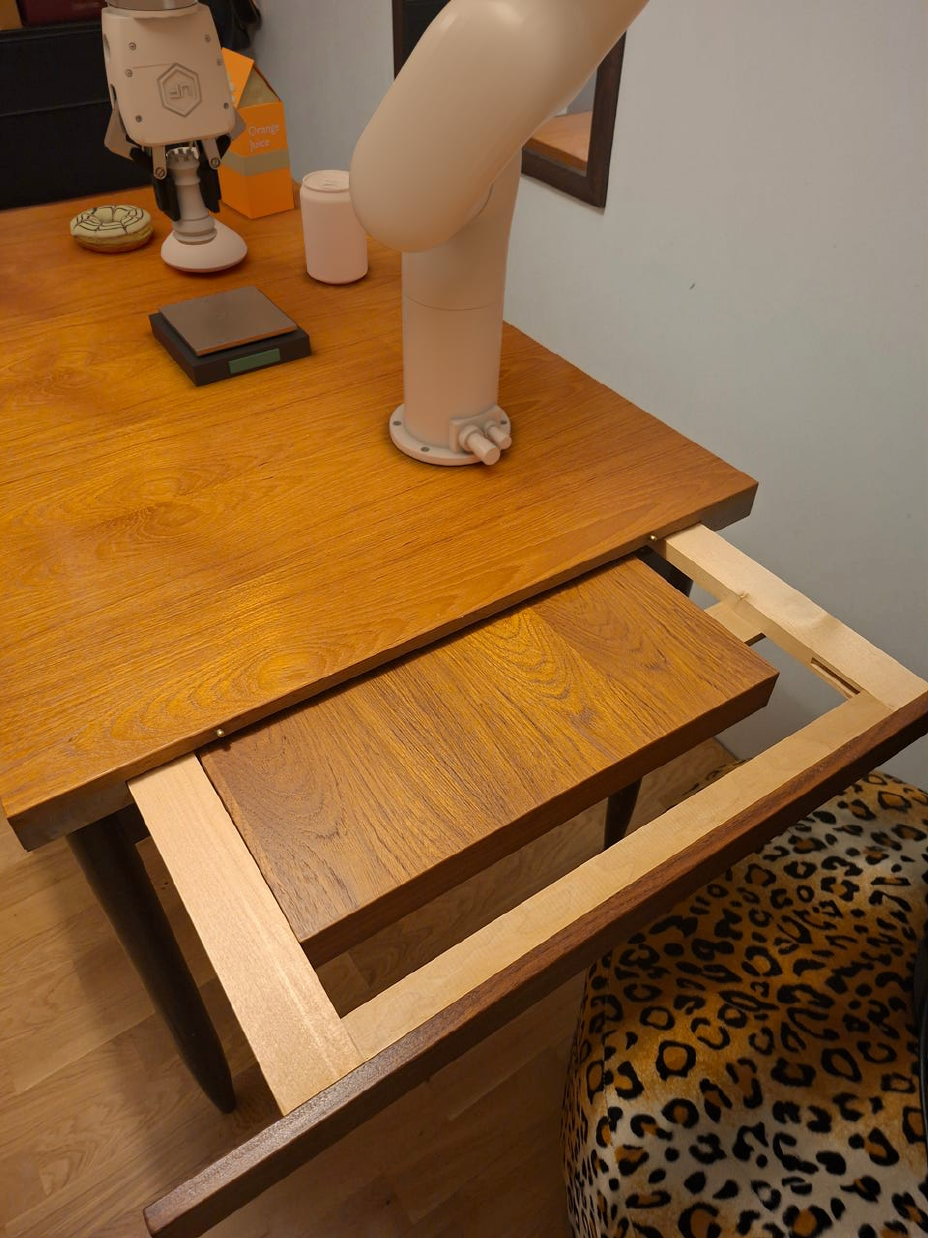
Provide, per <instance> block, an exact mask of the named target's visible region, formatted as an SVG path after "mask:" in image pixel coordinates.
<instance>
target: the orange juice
mask: <svg viewBox="0 0 928 1238" xmlns="http://www.w3.org/2000/svg"><path fill="white" fill-rule="evenodd" d="M221 50H222V54H223V58H224V62H225V67H226V70H227V72H228V74H229V75H230V76H231V79H232V80H231V83H233V84H234V85H235V91H234V92H232V93H233V95H234V97H235V98H236V102H235V103H233V106H234V107H235V109H236V110H237V112H238V113H239V115H240V116H241V117H242V119H243V120H244V122H245V124H246V129H245V131H244V132H243V133H242V134H240V135H239V136H238V137H237V138H236V139H235V140H234V141H232V142H231V144H230V146H229V148H228V150H227V151H226V153H225V155H224V156H223V158H222V159H221V166H220V168H219V169H217V170H218V176H219V182H220V189H221V195H222V199H221V201H222V203H224V204H226V205H227V206H229V207H231V209H234V210H235V211H237V212H238V213H240V214H241V215H243V216H245V217H247V218H249V219H250V220H255V219H258V218H263V217H266V216H270V215H274V214H278V213H282V212H285V211H290V210H293V209H295V202H294V193H293V185H292V184H293V183H292V174H291V173H292V172H291V161H290V150H289V145H288V144H289V143H288V136H287V125H286V117H285V116H286V115H285V107H284V101H282V100H281V98H280V97H279V95H278V94H277V92H276V90H275V89H274V88H273V87H272V85H271V84H270V83H269V81H268V79H267V78H266V77H265V75H264V74H263V73H262V71H261V70H260V68H259V67H258V65H257V64H256V62H255V60H254V59H252V58H250V57H248V56H245V55H242V54H240V53H238V52H236V51H233V50H231V49H228V48H226V47H223V46H222V47H221Z"/></svg>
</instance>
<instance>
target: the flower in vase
mask: <svg viewBox="0 0 928 1238" xmlns="http://www.w3.org/2000/svg"><path fill="white" fill-rule="evenodd" d="M226 71H227V70H226ZM227 76H228V80H229V85H230V90H231V95H232V101H233V103H235V102H236V98H235V97H234V95H233V93H232V92H234V91H235V85H234V84H233V83H231V80H232V79H231V76H230V75H229V74H228V72H227ZM193 143H194V141H189V143H188V144H189V145H188V146H184V147H181V148H183V153H185V154H187V153H186V149H191V150H192V151H194V156H195V157H196V158H197V159H198V157H199V156H198V153H197V150H196V146H195V147H194V146H193ZM177 148H178V147H176V148H173V150H174V151H175V154H178V149H177ZM165 156H166V157H167V153H165ZM206 209H207V208H206ZM214 220H215V226H214V228H215V229H217V235H216V237H215V238H214V240H213V241H211V242H209V243H207V244H202V245H185V244H182V243H180V242H178V241H177V240H176V239H175V238H174V237H173V232H174V231H175V229H173V230H172V232H170V234H168V235H167V236H166V239H165V240H164V241H163V243H162V245H161V248H160V257H161V258H162V260H163V261H164V262H165V263H166V264H167V265H168V266H170V267H172V268H174V269H176V270H179V271H184V272H188V273H189V272H190V273H213V272H218V271H223V270H227V269H228V268H229V269H230V268H232V267H234V266H235V265H237V264H239V263H241V262H242V261H243V259H245V257H246V255H247V253H248V246H247V244H246V242H245V240H244V239H243V238H242V236H241V235H239V233H237V232H236V231H234V230H233V229H232V228H230V227H229V226H227V225H225V224H224V223H222V222H220V221H219V220H218V219H216V218H214Z"/></svg>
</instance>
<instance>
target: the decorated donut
mask: <svg viewBox="0 0 928 1238" xmlns="http://www.w3.org/2000/svg"><path fill="white" fill-rule="evenodd" d="M69 226H70V227H69V229H70V235H71V237H72V238H73V239H74V240H75V242H76V244H77V245H78V246H80V247H82V248H85V249H87V250H89V251H96V252H97V253H102V252H105V253H117V252H120V253H122V252H130V251H132V250H136V249H138V248H141V247H142V245H146V243H147V242H148V241H149V239H150V237H151V235H152V234H153V230H154V222H153V221H152V218H151V213H149V212H148V211H147V210H145V209H143V208H141V207H138V206H135V205H131V204H106V205H101V206H100V205H99V206H95V207H92V208H90V209H88V210H85V211H82V212H81V213H79V214H77V215H76V216H75V217H74V218H72V219H71V220H70V222H69Z"/></svg>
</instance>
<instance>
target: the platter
mask: <svg viewBox="0 0 928 1238" xmlns="http://www.w3.org/2000/svg"><path fill="white" fill-rule="evenodd" d="M258 289H259V288H257V287H256V286H255V285H247V286H243V287H239V288H235V289H231V290H227V291H226V290H225V291H222V292H217V293H214V294H209V295H205V296H201V297H196V298H192V299H188V300H183V301H178V302H175V303H171V304H165V305H162V306H158V307H157V311H158V313H160V314H161V316H162V317H163V318H164V319H165V320H166V321H167V322H168V324H169V325H170V326H171V327H172V328H173V329H174V330H175V331H176V333H177V334H178V335H179V336H180V337H181V338H182V339H183V340H184V342H185V343H186V344H187V345H188V346H189V347H190V348H191V349H192V351H193V352H194V353H195V354H196V355H197V356H201V355H204V354H208V353H212V352H216V351H220V350H223V349H227V348H231V347H235V346H239V345H243V344H246V343H250V342H254V341H258V340H262V339H265V338H269V337H273V336H277V335H281V334H284V333H288V332H292V331H296V330H297V325H296V324H297V323H296V322H295V321H294V320H293V319H292V318H291V317H290V316H289V317H290V318H291V319H292V320H293V321H294V322H295V323H296V324H295V323H294V322H293V321H292V320H291V319H290V318H289V317H287V316H286V315H285V314H284V313H285V312H284V311H283V310H282V309H281V308H280V307H279V306H278V305H277V306H278V307H279V308H280V309H281V310H282V311H283V312H284V313H283V312H282V311H281V310H280V309H279V308H278V307H277V306H275V305H274V304H273V303H274V302H273V301H272V300H271V299H270V298H269V297H268V296H267V295H266V296H267V297H268V298H269V299H270V300H271V301H272V302H273V303H272V302H271V301H270V300H269V299H268V298H267V297H266V296H264V295H263V294H262V293H261V292H262V291H261V290H260V289H259V290H260V291H261V292H260V291H259V290H258Z"/></svg>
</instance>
